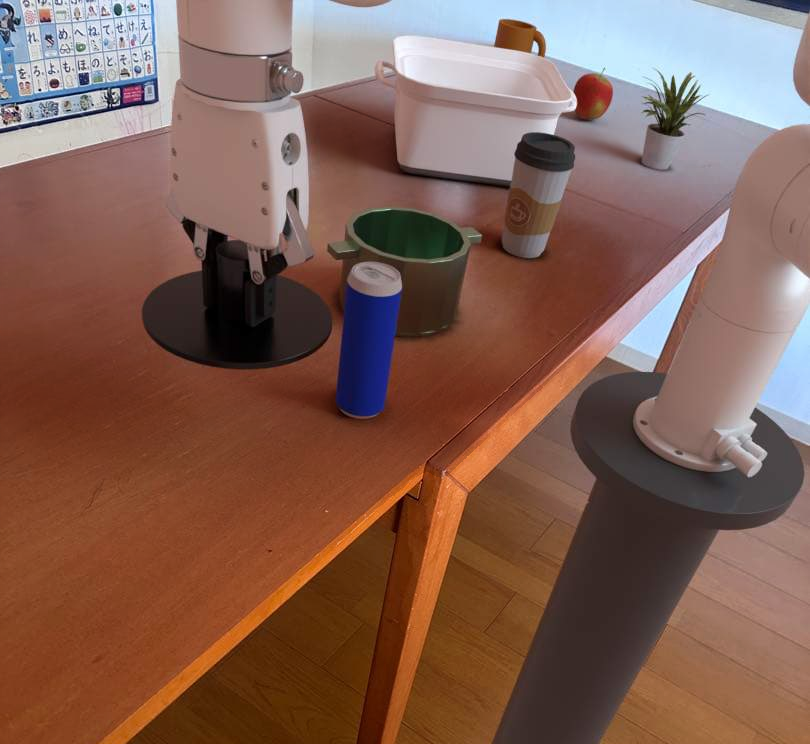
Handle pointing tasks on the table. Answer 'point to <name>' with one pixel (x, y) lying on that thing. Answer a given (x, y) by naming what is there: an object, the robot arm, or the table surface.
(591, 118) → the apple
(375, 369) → the beverage can
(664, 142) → the house plant
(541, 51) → the mug
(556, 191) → the coffee cup
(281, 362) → the lid
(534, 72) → the white storage tub
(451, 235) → the cooker pot
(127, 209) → the table surface
